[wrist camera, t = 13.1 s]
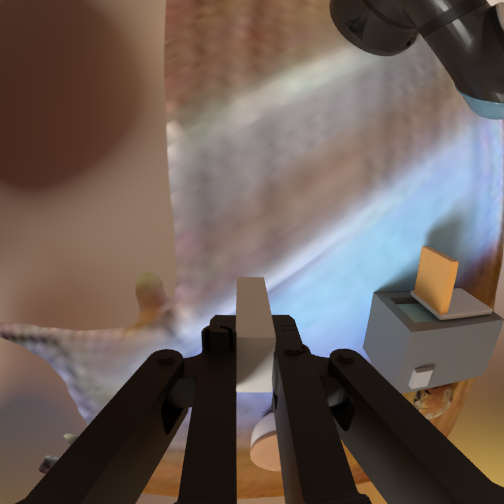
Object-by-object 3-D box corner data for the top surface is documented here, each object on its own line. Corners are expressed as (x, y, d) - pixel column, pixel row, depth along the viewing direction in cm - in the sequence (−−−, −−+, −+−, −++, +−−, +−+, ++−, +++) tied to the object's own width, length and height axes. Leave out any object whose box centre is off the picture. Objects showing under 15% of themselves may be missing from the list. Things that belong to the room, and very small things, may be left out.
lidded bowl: (315, 399, 56) (327, 438, 46) (304, 439, 59) (313, 476, 49) (251, 399, 56) (253, 441, 45) (247, 439, 59) (248, 479, 48)
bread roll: (415, 403, 63) (433, 424, 57) (402, 404, 57) (422, 428, 51) (443, 374, 61) (462, 395, 55) (433, 372, 56) (456, 396, 49)
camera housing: (373, 292, 50) (414, 335, 36) (465, 288, 51) (512, 320, 37) (362, 347, 53) (394, 399, 39) (451, 337, 54) (491, 375, 40)
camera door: (419, 244, 46) (453, 262, 37) (469, 246, 47) (504, 262, 37) (410, 294, 49) (440, 320, 39) (460, 291, 49) (491, 313, 39)
